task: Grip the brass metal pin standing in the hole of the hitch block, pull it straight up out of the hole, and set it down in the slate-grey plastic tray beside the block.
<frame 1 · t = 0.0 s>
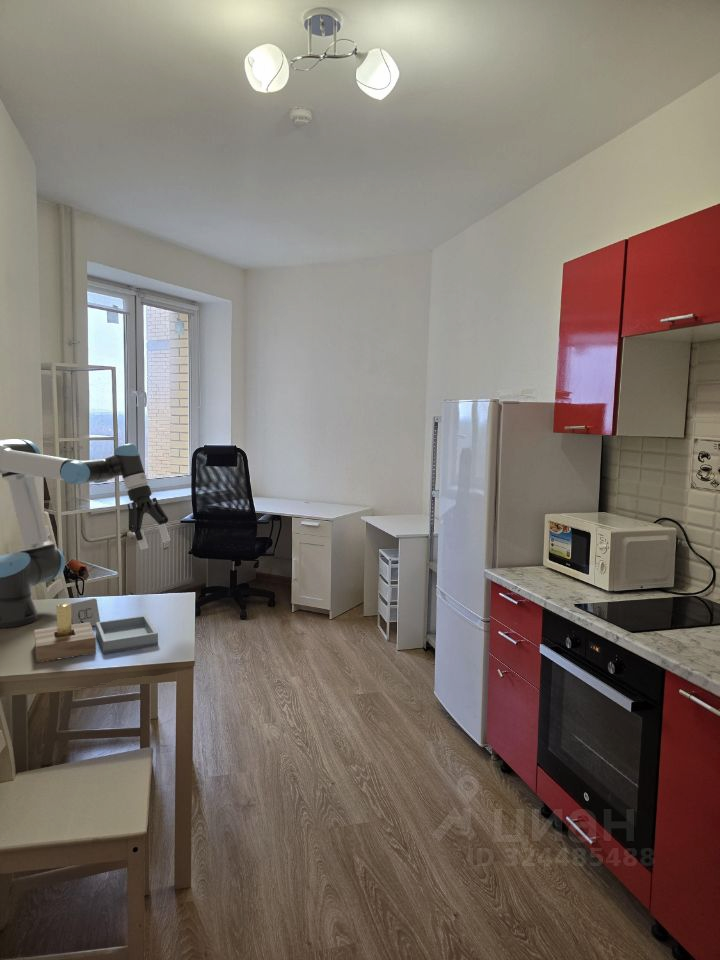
hand: (156, 545, 209), 28 cm above the table, tool tilted 20°, fingers open, 13 cm apart
hitch block: (65, 649, 185), on the table
electrical switch: (83, 627, 206), on the table
tray: (126, 639, 194), on the table
pin: (64, 627, 185), in the hitch block
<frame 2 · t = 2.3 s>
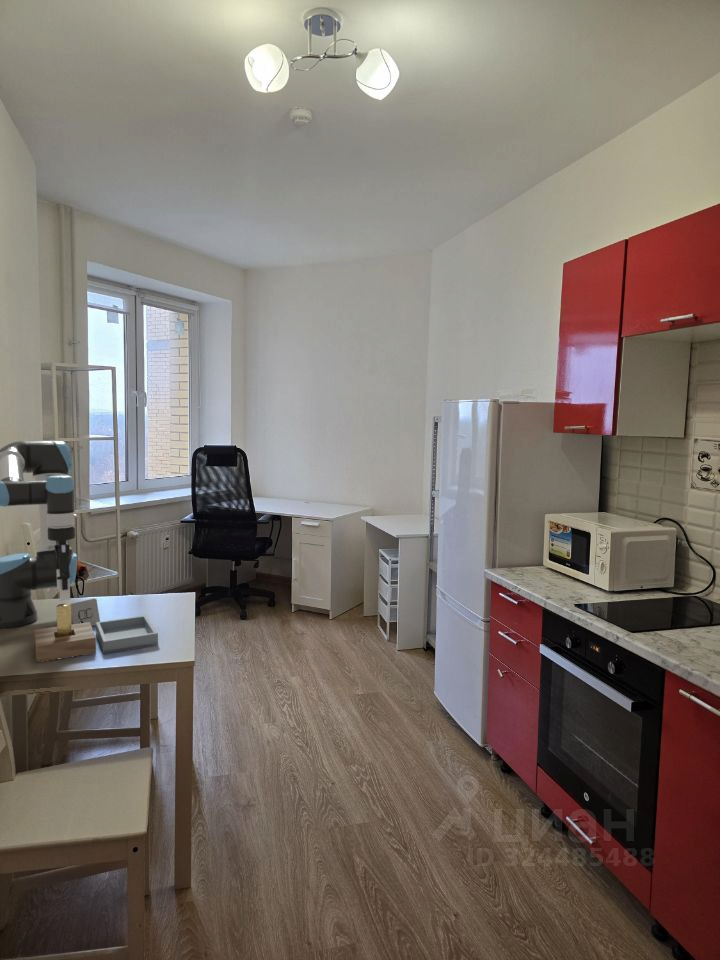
hand: (63, 594, 183), 18 cm above the table, tool pointing down, fingers open, 13 cm apart
nothing on the table moved.
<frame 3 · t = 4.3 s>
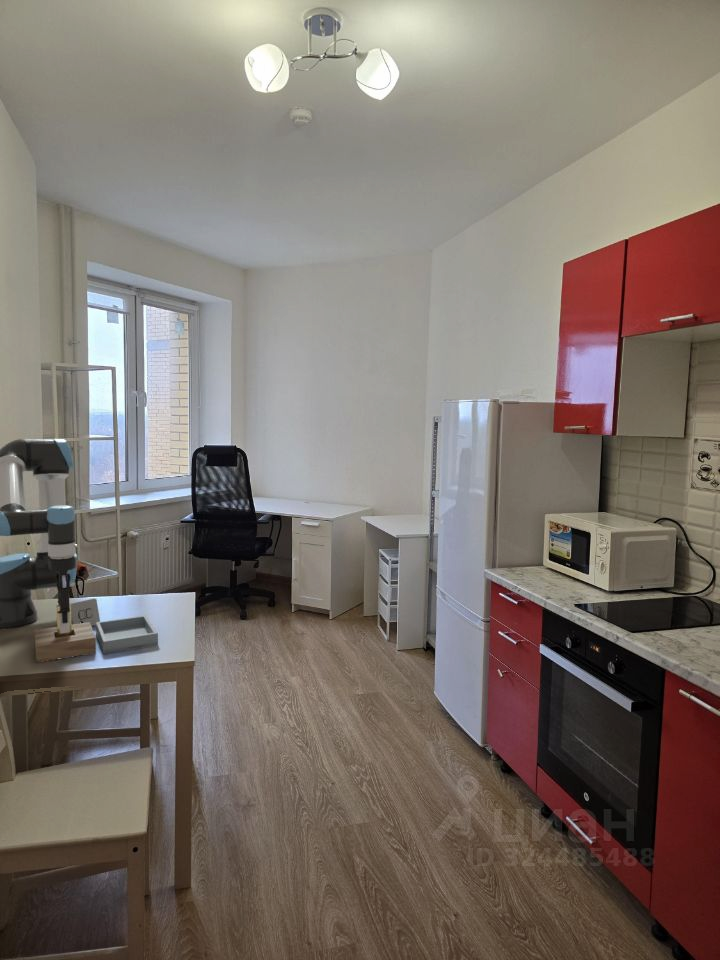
hand: (64, 630, 185), 6 cm above the table, tool pointing down, fingers closed on pin, 4 cm apart
pin: (64, 627, 185), in the hitch block, touching gripper
everything else where it was.
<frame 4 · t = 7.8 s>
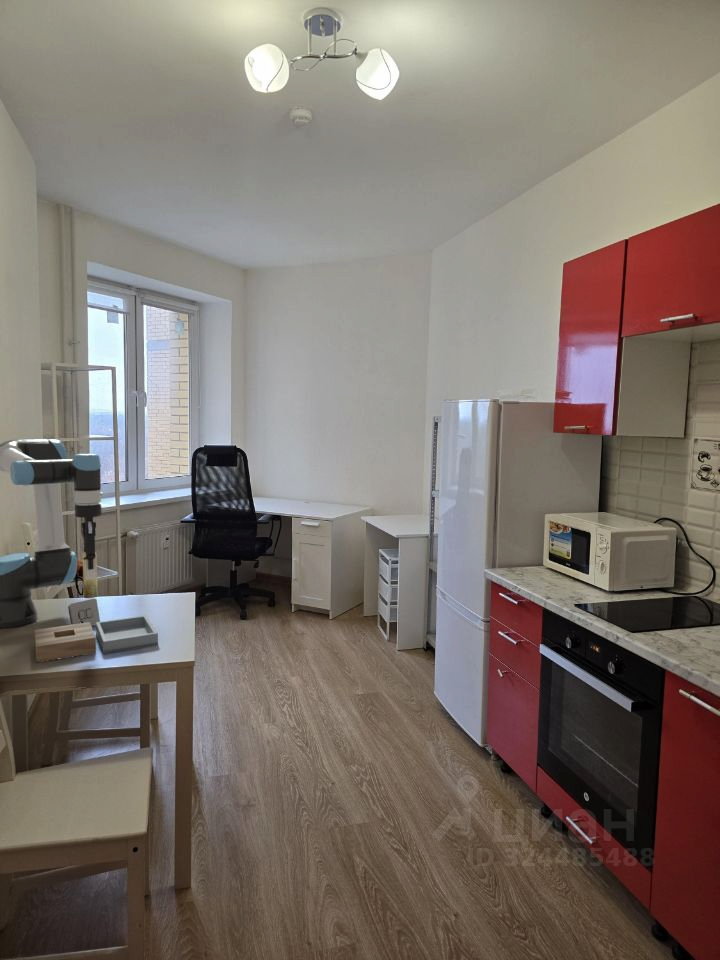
hand: (90, 577, 187), 22 cm above the table, tool pointing down, fingers closed on pin, 4 cm apart
pin: (90, 574, 187), point 23 cm above the table, touching gripper
everything else where it was.
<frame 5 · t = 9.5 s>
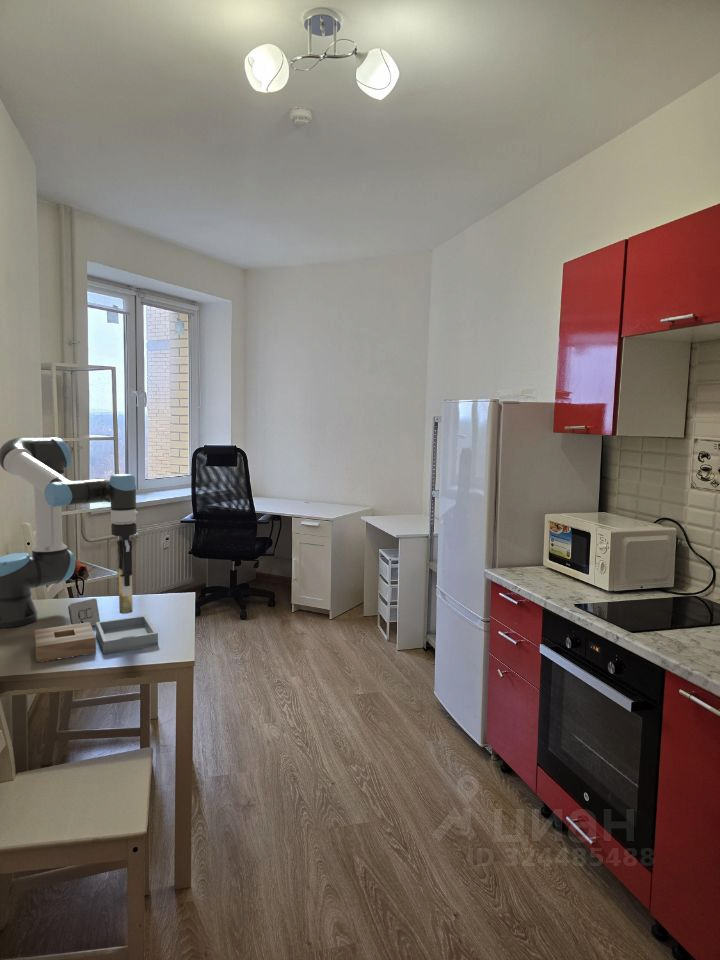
hand: (125, 593, 193), 15 cm above the table, tool pointing down, fingers closed on pin, 4 cm apart
pin: (125, 590, 193), point 16 cm above the table, touching gripper
everything else where it was.
when the fingers open (8 cm above the table, at t = 11.2 s): pin stays where it is, resting on tray.
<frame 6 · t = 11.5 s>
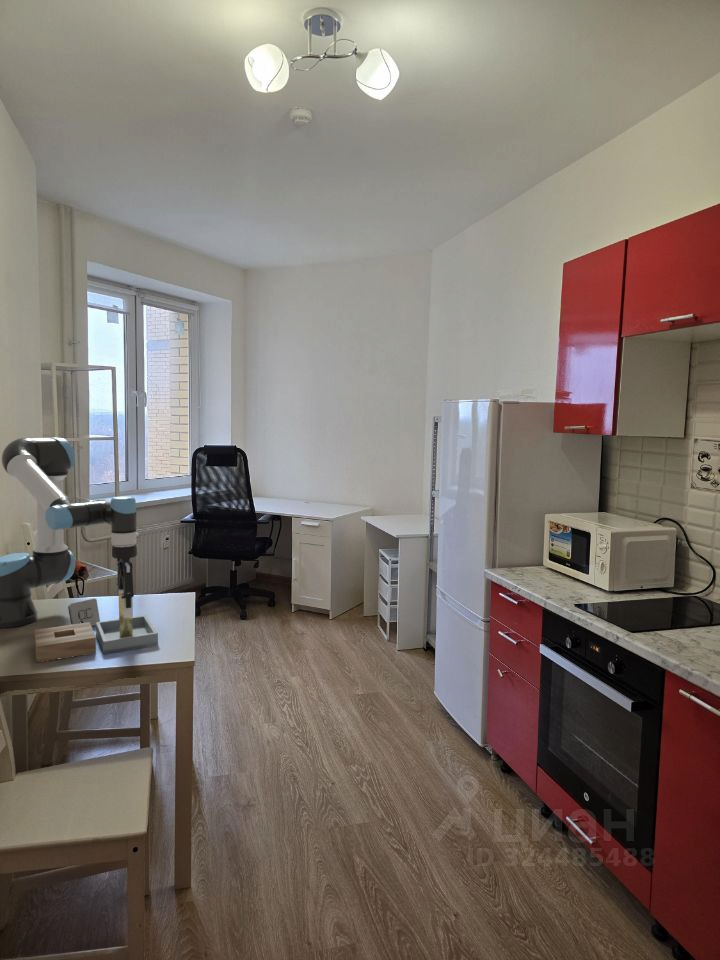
hand: (125, 612, 193), 9 cm above the table, tool pointing down, fingers open, 9 cm apart
pin: (125, 615, 193), in the tray, point 8 cm above the table
everything else where it was.
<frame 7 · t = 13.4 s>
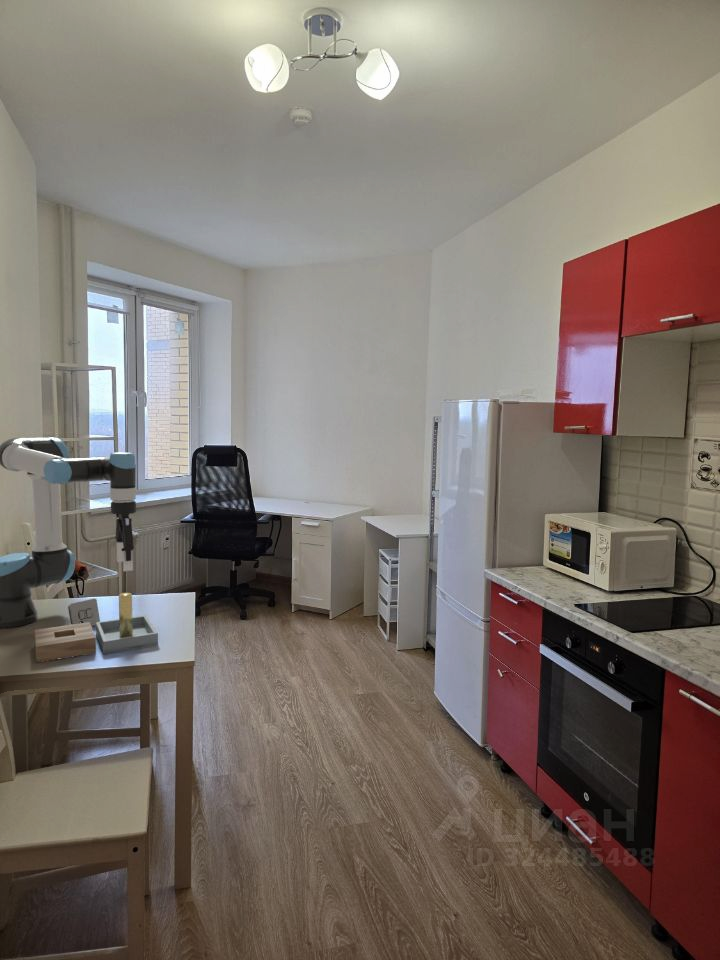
hand: (124, 566, 192), 24 cm above the table, tool pointing down, fingers open, 13 cm apart
nothing on the table moved.
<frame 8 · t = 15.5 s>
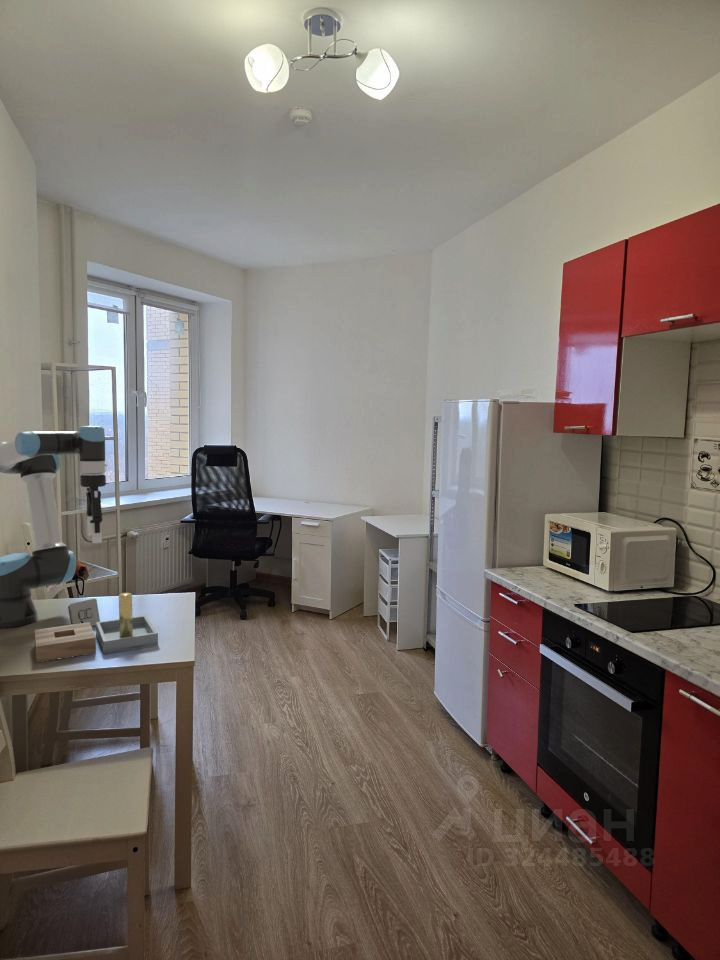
hand: (94, 539, 193), 33 cm above the table, tool pointing down, fingers open, 13 cm apart
nothing on the table moved.
at the end: pin inside the target area on the tray (0.0 cm from its centre), point 8.0 cm above the tray's base; pin moved 18.0 cm from its start; the gripper is holding nothing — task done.
